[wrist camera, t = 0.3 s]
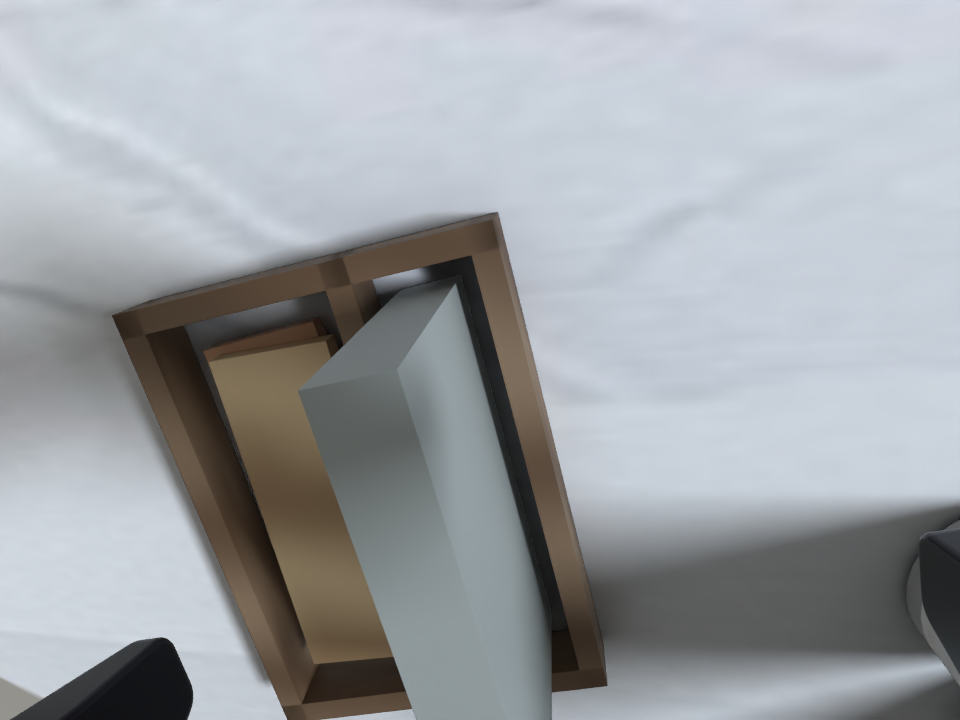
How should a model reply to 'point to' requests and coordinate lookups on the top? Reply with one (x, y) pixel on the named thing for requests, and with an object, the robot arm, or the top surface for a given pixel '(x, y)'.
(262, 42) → the top surface
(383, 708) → the brown wooden tray
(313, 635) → the offcut top
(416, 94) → the top surface
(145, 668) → the robot arm
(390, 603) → the gray rectangular panel
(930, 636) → the travel mug
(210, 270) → the top surface
